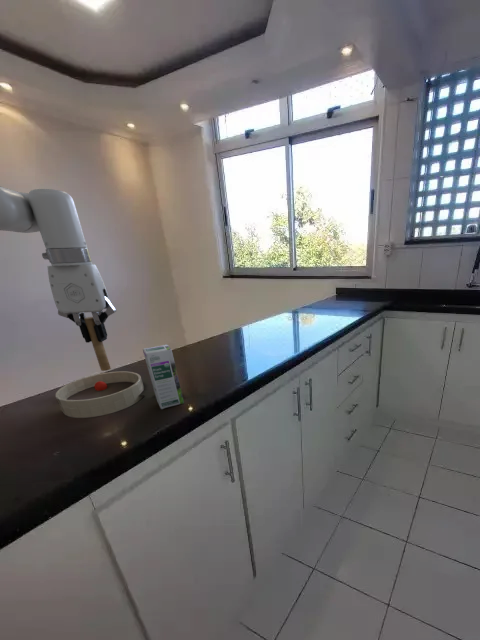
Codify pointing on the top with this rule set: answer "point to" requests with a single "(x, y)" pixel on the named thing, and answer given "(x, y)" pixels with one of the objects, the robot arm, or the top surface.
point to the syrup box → (163, 375)
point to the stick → (97, 345)
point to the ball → (100, 386)
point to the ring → (102, 403)
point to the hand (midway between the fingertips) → (96, 340)
